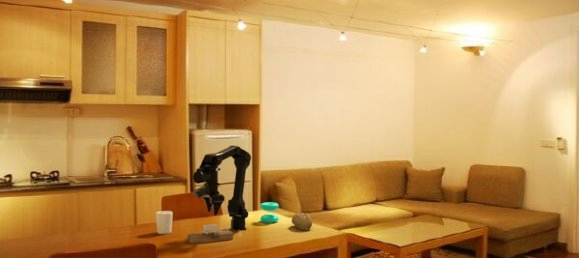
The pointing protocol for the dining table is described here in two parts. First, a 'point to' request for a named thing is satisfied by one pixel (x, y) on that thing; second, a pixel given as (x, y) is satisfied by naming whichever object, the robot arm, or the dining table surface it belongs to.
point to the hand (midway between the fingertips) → (212, 213)
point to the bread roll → (302, 221)
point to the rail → (210, 237)
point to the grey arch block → (210, 228)
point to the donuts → (269, 217)
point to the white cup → (164, 222)
